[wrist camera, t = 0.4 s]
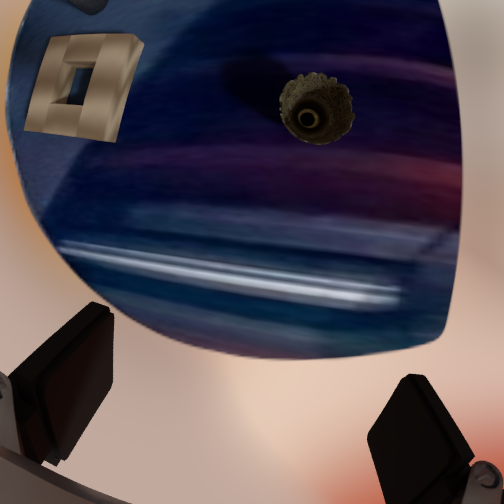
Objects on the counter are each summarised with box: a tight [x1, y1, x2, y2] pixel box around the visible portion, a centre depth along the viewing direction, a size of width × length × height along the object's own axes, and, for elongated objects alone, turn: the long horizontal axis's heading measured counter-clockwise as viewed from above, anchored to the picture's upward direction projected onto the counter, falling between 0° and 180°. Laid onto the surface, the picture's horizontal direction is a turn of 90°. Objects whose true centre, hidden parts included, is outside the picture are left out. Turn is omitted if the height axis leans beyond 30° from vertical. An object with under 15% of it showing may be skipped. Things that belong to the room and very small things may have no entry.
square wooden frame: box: [24, 34, 144, 142], centre depth 32 cm, size 14×14×4 cm
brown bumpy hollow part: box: [279, 72, 355, 145], centre depth 31 cm, size 8×7×8 cm
